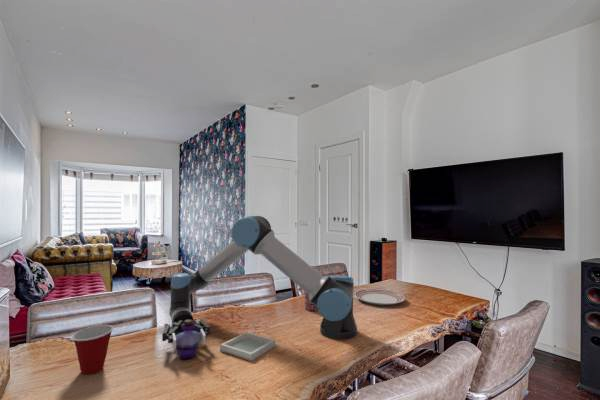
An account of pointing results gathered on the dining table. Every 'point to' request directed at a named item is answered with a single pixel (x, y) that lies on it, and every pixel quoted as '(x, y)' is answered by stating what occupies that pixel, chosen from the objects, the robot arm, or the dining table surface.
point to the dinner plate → (379, 296)
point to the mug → (309, 304)
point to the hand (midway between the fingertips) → (190, 342)
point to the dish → (248, 346)
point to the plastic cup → (92, 347)
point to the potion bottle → (187, 341)
